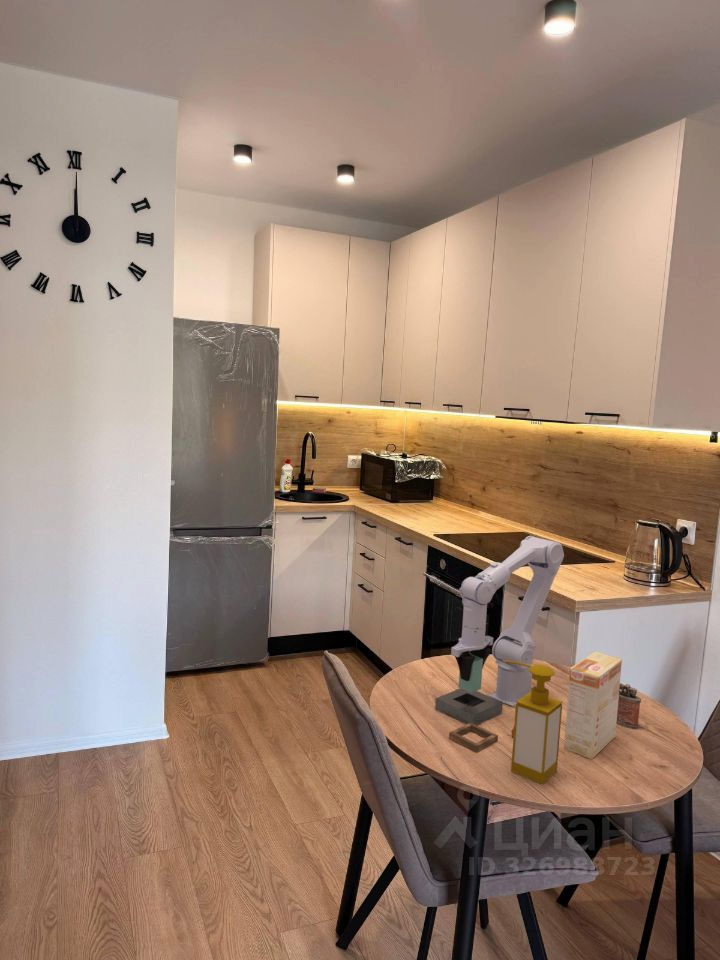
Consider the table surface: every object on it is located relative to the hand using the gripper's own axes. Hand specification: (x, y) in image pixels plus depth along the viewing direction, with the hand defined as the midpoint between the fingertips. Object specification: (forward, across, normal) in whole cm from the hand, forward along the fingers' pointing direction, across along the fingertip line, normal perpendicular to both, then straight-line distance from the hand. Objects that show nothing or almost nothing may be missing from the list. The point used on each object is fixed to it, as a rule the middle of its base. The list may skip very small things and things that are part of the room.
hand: (470, 677), depth 172 cm
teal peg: (+3, 0, 0) cm, 3 cm away
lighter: (+9, -26, +28) cm, 39 cm away
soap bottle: (+9, +12, +24) cm, 28 cm away
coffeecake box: (+9, -10, +28) cm, 31 cm away
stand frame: (+9, +11, +10) cm, 17 cm away
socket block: (+9, 0, 0) cm, 9 cm away
